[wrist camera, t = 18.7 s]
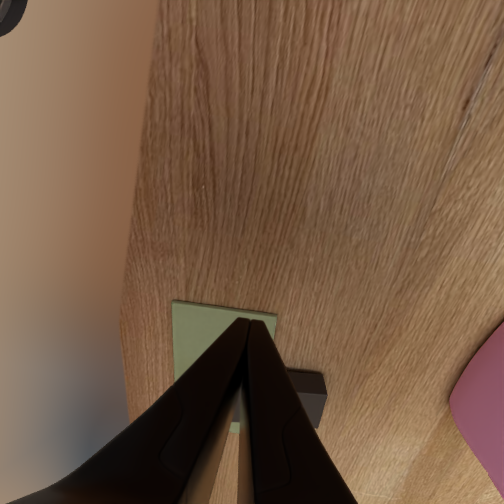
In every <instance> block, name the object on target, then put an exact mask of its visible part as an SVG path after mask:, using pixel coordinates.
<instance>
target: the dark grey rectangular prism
mask: <svg viewBox="0 0 504 504" xmlns="http://www.w3.org/2000/svg"><path fill="white" fill-rule="evenodd" d="M288 374H289V376H290V378H291V380H292V382H293V385H294V387H295V389H296V391H297V393H298V395H299V398H300V400H301V402H302V404H303V407H304V408H305V410H306V413H307V415H308V417H309V419H310V421H311V423H312V425H313V427H314V428H318V427H319V423H320V420H321V416H322V413H323V409H324V406H325V402H326V399H327V396H328V395H327V390H326V386H325V382H324V378H323V375H322V374H311V373H298V372H288ZM241 385H242V383H241ZM240 396H241V389H240V393H239V397H238V401H237V404H236V408H235V412H234V415H233V419H232V422H237V423H240Z"/></svg>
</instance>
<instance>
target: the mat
mask: <svg viewBox="0 0 504 504" xmlns="http://www.w3.org/2000/svg"><path fill="white" fill-rule="evenodd" d="M171 307H172V331H173V355H174V379H175V381H176V380H177V379H178V378H179V377H180V376H181V375H182V374H183V373H184V372H185V371H186V370H187V369H188V368H189V367H190V366H191V365H192V364H193V363H194V362H195V361H196V360H197V359H198V358H199V357H200V356H201V354H202V353H203V352H204V351H205V350H206V349H207V348H208V347H209V346H210V345H211V344H212V343H213V342H214V341H215V340H216V339H217V338H218V337H219V336H220V335H221V334H222V333H223V332H224V331H225V330H226V329H227V328H228V327H229V325H230V324H231V323H232V322H233V321H234V320H235V319H236V318H237V317H244V318H249V319H250V322H251V320H252V319H257V320H263V321H264V322H265V324H266V326H267V328H268V330H269V333H270V335H271V337H272V339H273V340H274V333H275V327H276V320H277V314H270V313H263V312H256V311H248V310H241V309H234V308H227V307H220V306H213V305H206V304H198V303H191V302H184V301H177V300H173V301H172V302H171ZM239 426H240V423H237V422H231V426H230V429H229V432H232V433H238V434H239Z"/></svg>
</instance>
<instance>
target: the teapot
mask: <svg viewBox="0 0 504 504" xmlns="http://www.w3.org/2000/svg"><path fill="white" fill-rule="evenodd" d="M449 402H450V408H451V412H452V416H453V419H454V421H455V423H456V425H457V427H458V429H459V431H460V432H461V434H462V436H463V437H464V439H465V441H466V442H467V444H468V445H469V447H470V448H471V450H472V451H473V453H474V454H475V456H476V457H477V459H478V460H479V462H480V463H481V464H482V466H483V467H484V468H485V470H486V471H487V472H488V475H489V477H490V478H491V480H492V482H493V483H494V485H495V486H496V488H497V490H498V491H499V493H500V494H501V496H502V498H503V499H504V322H503V323H502V324H501V325H500V326H499V327H498V328H497V329H496V330H495V332H494V333H493V334H492V335H491V336H490V337H489V338H488V340H487V341H486V342H485V343H484V344H483V346H482V347H481V348H480V349H479V350H478V352H477V353H476V354H475V355H474V357H473V358H472V359H471V361H470V362H469V364H468V365H467V367H466V368H465V370H464V372H463V373H462V375H461V377H460V378H459V380H458V382H457V384H456V385H455V387H454V389H453V391H452V393H451V396H450V399H449Z"/></svg>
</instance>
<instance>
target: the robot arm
mask: <svg viewBox="0 0 504 504" xmlns="http://www.w3.org/2000/svg"><path fill="white" fill-rule="evenodd" d="M241 383H242V385H241ZM240 389H241V396H240V426H239V459H238V492H237V504H358V503H357V501H356V500H355V498H354V496H353V495H352V493H351V491H350V490H349V488H348V486H347V485H346V483H345V481H344V480H343V478H342V476H341V475H340V473H339V471H338V470H337V468H336V466H335V465H334V463H333V462H332V460H331V458H330V456H329V455H328V453H327V451H326V449H325V448H324V446H323V444H322V442H321V441H320V439H319V437H318V435H317V433H316V431H315V429H314V427H313V425H312V423H311V421H310V419H309V417H308V415H307V413H306V410H305V408H304V407H303V404H302V402H301V400H300V398H299V395H298V393H297V391H296V389H295V387H294V385H293V382H292V380H291V378H290V376H289V374H288V372H287V369H286V367H285V365H284V363H283V361H282V359H281V356H280V354H279V352H278V350H277V348H276V346H275V343H274V341H273V339H272V337H271V335H270V333H269V330H268V328H267V326H266V324H265V322H264V321H263V320H257V319H252V320H251V322H250V319H249V318H244V317H237V318H236V319H235V320H234V321H233V322H232V323H231V324H230V325H229V327H228V328H227V329H226V330H225V331H224V332H223V333H222V334H221V335H220V336H219V337H218V338H217V339H216V340H215V341H214V342H213V343H212V344H211V345H210V346H209V347H208V348H207V349H206V350H205V351H204V352H203V353H202V354H201V356H200V357H199V358H198V359H197V360H196V361H195V362H194V363H193V364H192V365H191V366H190V367H189V368H188V369H187V370H186V371H185V372H184V373H183V374H182V375H181V376H180V377H179V378H178V379H177V380H176V381H175V382H174V384H173V385H172V386H170V387H169V388H168V390H167V391H166V392H165V393H164V394H163V395H162V396H161V397H160V398H159V399H158V400H157V401H156V402H155V403H154V404H153V405H152V406H150V407H149V408H148V409H147V410H146V411H145V412H144V413H143V414H142V415H141V416H139V417H138V418H137V419H136V420H135V421H134V422H132V423H131V424H130V425H129V426H128V427H127V428H125V429H124V430H123V431H122V432H121V433H119V434H118V435H117V436H116V437H115V438H113V439H112V440H111V441H110V442H109V443H107V444H106V445H105V446H104V447H103V448H102V449H100V450H99V451H98V452H97V453H95V454H94V455H93V456H92V457H91V458H89V459H88V460H87V461H86V462H85V463H83V464H82V465H81V466H80V467H78V468H77V469H76V470H75V471H73V472H72V473H70V474H69V475H67V476H66V477H64V478H63V479H61V480H60V481H58V482H56V483H54V484H53V485H51V486H49V487H47V488H45V489H42V490H40V491H37V492H35V493H32V494H30V495H27V496H25V497H22V498H20V499H17V500H14V501H12V502H10V503H7V504H209V500H210V497H211V493H212V490H213V486H214V483H215V479H216V475H217V472H218V468H219V465H220V461H221V458H222V454H223V451H224V447H225V444H226V440H227V436H228V433H229V429H230V426H231V422H232V419H233V415H234V412H235V408H236V404H237V401H238V397H239V393H240Z"/></svg>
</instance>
